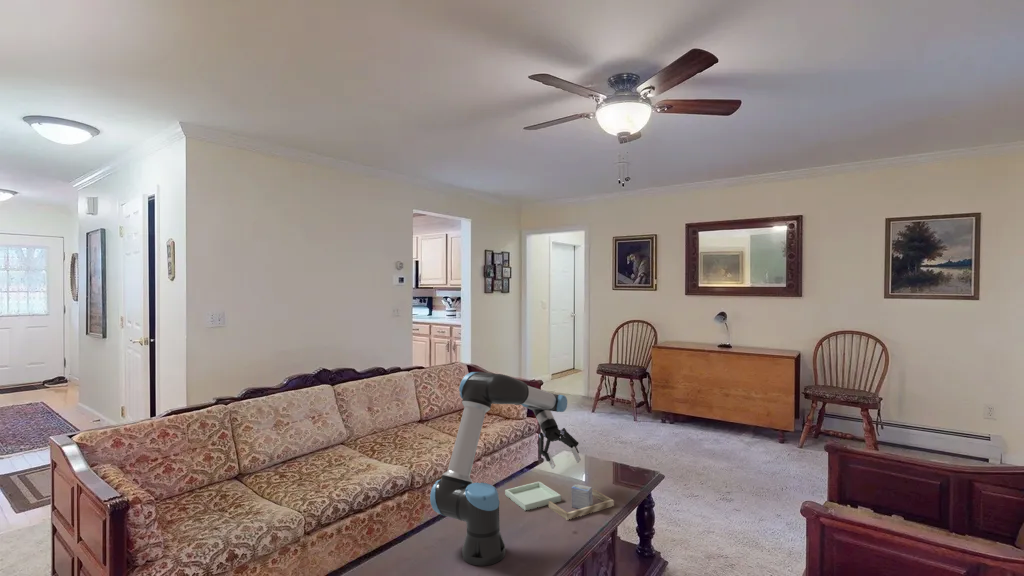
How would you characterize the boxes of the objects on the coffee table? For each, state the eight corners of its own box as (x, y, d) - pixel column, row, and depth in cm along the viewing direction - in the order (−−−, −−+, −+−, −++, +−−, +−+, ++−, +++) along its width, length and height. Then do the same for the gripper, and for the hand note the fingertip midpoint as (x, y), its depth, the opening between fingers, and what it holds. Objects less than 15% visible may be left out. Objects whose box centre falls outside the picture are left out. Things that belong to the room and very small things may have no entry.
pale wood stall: (567, 520, 198) (566, 514, 198) (548, 507, 210) (548, 501, 210) (614, 506, 209) (613, 500, 209) (594, 494, 221) (593, 489, 221)
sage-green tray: (525, 510, 207) (525, 505, 207) (505, 495, 223) (505, 489, 223) (561, 500, 216) (560, 495, 216) (539, 486, 231) (539, 481, 231)
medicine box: (593, 507, 209) (592, 487, 208) (588, 511, 205) (588, 490, 205) (576, 503, 213) (575, 483, 213) (571, 507, 209) (571, 487, 209)
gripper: (566, 422, 240) (585, 462, 227) (521, 431, 228) (539, 474, 215) (572, 413, 235) (592, 454, 222) (526, 422, 223) (545, 465, 210)
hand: (566, 464), depth 218 cm, fingers open, 13 cm apart
